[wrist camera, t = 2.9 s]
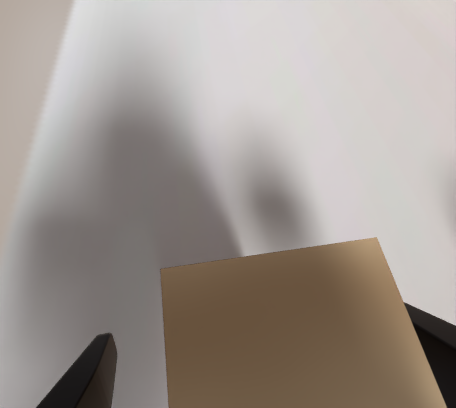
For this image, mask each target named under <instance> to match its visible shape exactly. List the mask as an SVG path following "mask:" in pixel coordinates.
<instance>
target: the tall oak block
mask: <svg viewBox="0 0 456 408" xmlns="http://www.w3.org/2000/svg"><path fill="white" fill-rule="evenodd" d="M160 270H161V287H162V304H163V321H164V337H165V354H166V371H167V387H168V404H169V408H447V407H446V404H445V402H444V399H443V397H442V394H441V392H440V390H439V387H438V385H437V382H436V380H435V378H434V375H433V373H432V370H431V368H430V365H429V363H428V361H427V358H426V356H425V353H424V351H423V348H422V346H421V344H420V341H419V339H418V336H417V334H416V331H415V329H414V327H413V324H412V322H411V319H410V317H409V314H408V312H407V310H406V307H405V305H404V302H403V300H402V297H401V295H400V293H399V290H398V288H397V285H396V283H395V281H394V278H393V276H392V273H391V271H390V268H389V266H388V264H387V261H386V259H385V256H384V254H383V251H382V249H381V247H380V244H379V242H378V239H377V237H376V238H369V239H362V240H355V241H348V242H342V243H335V244H328V245H321V246H314V247H307V248H300V249H294V250H287V251H280V252H273V253H266V254H259V255H252V256H246V257H239V258H232V259H225V260H218V261H211V262H204V263H198V264H191V265H184V266H177V267H170V268H163V269H160Z"/></svg>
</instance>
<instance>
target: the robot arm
mask: <svg viewBox="0 0 456 408" xmlns="http://www.w3.org/2000/svg"><path fill="white" fill-rule="evenodd" d="M404 305H405V307H406V310H407V312H408V314H409V317H410V319H411V322H412V324H413V327H414V329H415V331H416V334H417V336H418V339H419V341H420V344H421V346H422V348H423V351H424V353H425V356H426V358H427V361H428V363H429V365H430V368H431V370H432V373H433V375H434V378H435V380H436V382H437V385H438V387H439V390H440V392H441V394H442V397H443V399H444V402H445V404H446V407H447V408H456V326H455V325H453V324H451V323H448V322H446V321H444V320H442V319H440V318H437V317H435V316H433V315H431V314H429V313H426V312H424V311H422V310H420V309H418V308H416V307H413V306H411V305H409V304H407V303H405V302H404ZM116 363H117V349H116V345H115V342H114V338H113V335H112V333H105V334H100V335H98V336H96V338H95V339H94V340H93V341H92V342H91V343H90V345H89V346H88V347H87V348H86V349H85V350H84V352H83V353H82V354H81V355H80V356H79V358H78V359H77V360H76V361H75V362H74V363H73V365H72V366H71V367H70V368H69V369H68V371H67V372H66V373H65V374H64V375H63V376H62V378H61V379H60V380H59V381H58V382H57V384H56V385H55V386H54V387H53V388H52V389H51V391H50V392H49V393H48V394H47V395H46V397H45V398H44V399H43V400H42V401H41V402H40V404H39V405H38V406H37V407H36V408H111V405H112V397H113V389H114V380H115V372H116Z"/></svg>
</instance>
